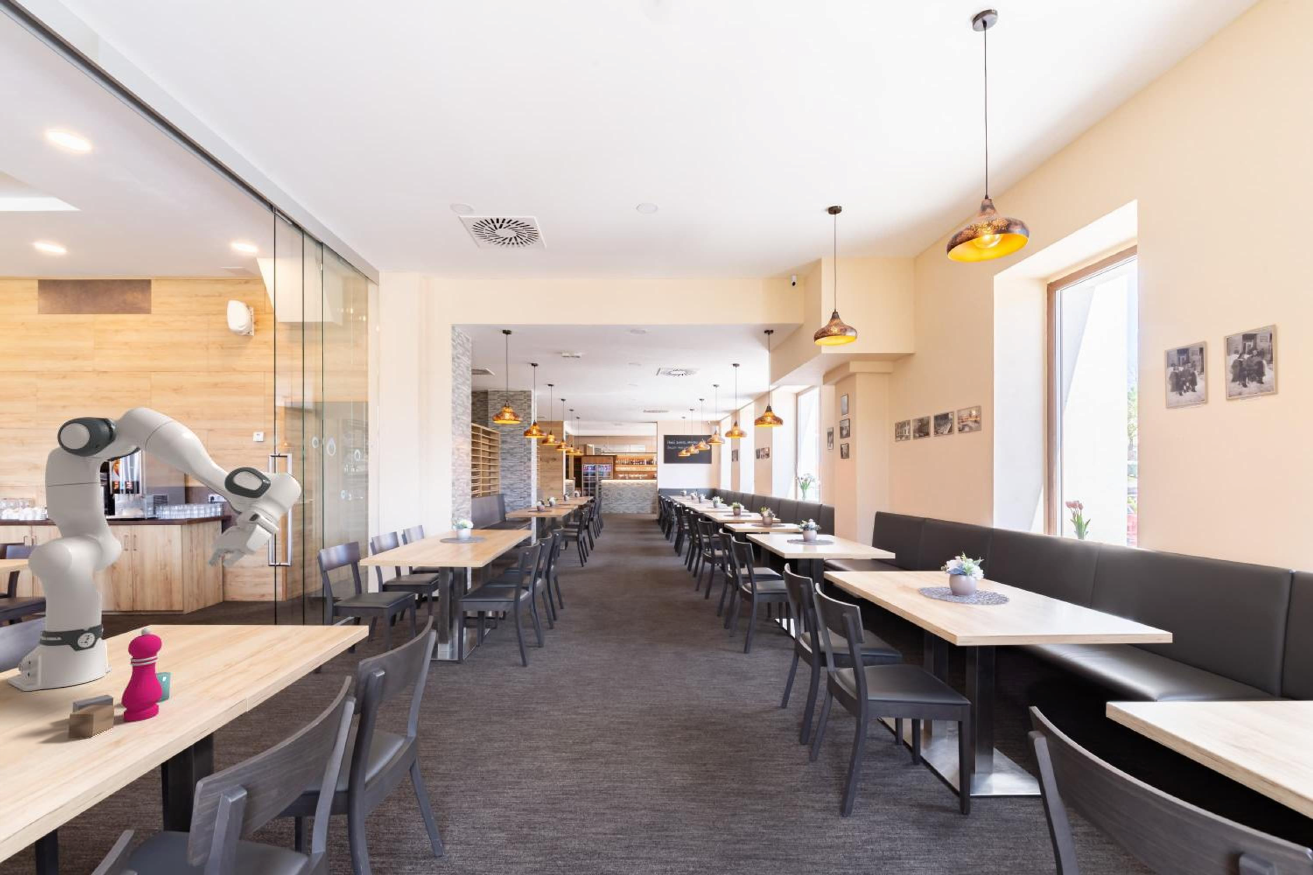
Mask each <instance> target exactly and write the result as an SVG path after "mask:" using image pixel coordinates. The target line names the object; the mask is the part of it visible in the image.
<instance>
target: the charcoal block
mask: <svg viewBox="0 0 1313 875" xmlns="http://www.w3.org/2000/svg"><path fill="white" fill-rule="evenodd" d="M91 705H114V697H113V696H111V695H109V694H103V695H99V696H94V697H90V698H86V699H85V698H84V699H81V700H77V701H73V702H72V712H71V713H74V712H76V711H79V710H81V709H83V708H86V707H88V706H91Z"/></svg>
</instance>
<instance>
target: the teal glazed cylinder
mask: <svg viewBox="0 0 1313 875" xmlns="http://www.w3.org/2000/svg"><path fill="white" fill-rule="evenodd" d="M155 673H156V677H157V679H158V681H159V683H160V685H161V687H162V697H161V699H160V700H159V701H158V702H157V703H156V704H158V703H162V702H165V701H167V700H169V699H170V693H171V692H170V689H171V675H172V674H171V672H169V671H168V672H167V671H163V672H155Z"/></svg>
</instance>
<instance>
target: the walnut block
mask: <svg viewBox="0 0 1313 875" xmlns="http://www.w3.org/2000/svg"><path fill="white" fill-rule="evenodd" d="M114 720H115V704H113V705H91V706H88V707H86V708H83V709H81V710H79V711H76V712H74V713H72V712H71V713H70V714H69V724H68V737H67V738H68V739H81V738H80V737H93V736H95V735H97V734H99V735H101V734H100V733H102V732H104V731H106V732H108V731H110V730H112V729H114ZM111 728H112V729H111ZM109 729H110V730H109ZM107 730H108V731H107ZM104 733H105V732H104ZM102 734H103V733H102ZM97 736H98V735H97ZM78 737H79V738H78ZM95 737H96V736H95ZM93 738H94V737H93Z"/></svg>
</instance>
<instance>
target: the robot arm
mask: <svg viewBox="0 0 1313 875" xmlns="http://www.w3.org/2000/svg"><path fill="white" fill-rule="evenodd" d="M56 435H57V437H56V438H57V443H58V444H59V447H55V448H54V449H52V450H51V451H50V452H49V454H48V456H47V459H46V465H45V474H44V475H45V476H44V485H45V486H44V487H45V488H44V489H45V503H46V504H45V505H46V515H47V516H48V518H49V519H50V520H51V521H53V523H54V524H55V525H56V527H57V529H58V530H59V534H60V536H61V537H56V538H52V539H51V540H49V541H46V542H44V543H42V544H39V545H38V546H36V547H35V548H34V549H33V550H32V551H31V552H30V555H29V557H28V561H27V562H28V563H27V564H28V568H29V570H30V571H31V573H32V574H34V576H36V577H37V578H38V580H39V581H40V584H41V586H42V588H43V592H44V598H45V622H44V630H42V631H41V630H40V633H41V634H39V636H40V638H39V642H38V644H39V645H37V646H36V647H35V648H34V649H33V650H31V652H30V653H28V654H27V655H26V656H24V657H23V658H22V660H21V661H20V662H19V663H18V669H17V670H18V671H19V672H20V674H19V673H18V674H16V675H13V676H11V677H8V678H7V683H8V684H10V685H11V686H14V687H15V688H18V689H19V690H21V691H23V692H31V691H37V690H44V689H57V688H62V687H70V686H75V685H80V684H84V683H88V682H91V681H96V680H98V679H100V678H103V677H104V676H106V675H107V673H109V672H110V671H112V670H113V666H112V665H108V649H107V648H108V647H107V642H106V641H105V640H103V639H102V638H103V632H104V624H103V623H102V614H103V613H102V612H103V611H102V610H103V594H102V593H101V592H100V591H99V590H98V589H97V587H96V584H95V580H94V576H93V575H94V574H93V573H94V572H99V571H102V570H104V569H106V568H108V567H110V566H111V565H114V564H115V563H116V562H118V560H119V559H120V558H121V555H122V552H123V546H122V543H121V541H120V540H119V539H118V538H117V537H116V536H114V534H113V533H112V529H111V528H110V526H109V524H108V521H107V518H106V515H105V513H104V507H103V498H102V496H103V494H102V485H101V484H102V483H101V474H100V473H101V472H100V471H101V467H102V465H103V463H104V462H105V461H107V462H112V463H113V462H115V461H118V460H120V459H124V458H127V457H130V456H133V455H134V454H137V453H138V452H140V451H141V450H142V451H144V452H145V453H147V454H149V456H152V457H154V458H156V459H158V460H160V461H161V462H163V463H165V464H167V465H170V466H172V468H175V469H176V470H179V471H180V472H181V473H184V474H185V475H187V476H190V478H191V477H192V478H193V479H195V480H196V482H197V481H198V482H199V483H200V484H202V485H204V486H206V488H209V490H212V491H213V492H214V493H216V494H217V495H219V496H220V497H222V498H223V499H225V500H226V502H227V503H228V505H229V506H230V508H231V510H232V511H233V512H234V513H236V514H237V515H238V517H237V518H236V519H235V522H236V524H237V525H232V526H230V527H228V528H227V529H225V531H223V533H221V535H219V537H217V539H215V540H214V542H213V543H212V544H211V547H210V548H211V549H212V550H213V553H212V555H211V557H210V559H209V560H208V561H207V562H206V565H207V566H208V567H211V568H212V567H213V568H214V567H216V566H217V565H218V564H219V562H220V560H221V558H222V557H224V556H225V555H230V556H229V557H228V558H226V559H225V561H223V562H222V566H224V567H225V568H232V567H233V566H234V564H235V563H237V562H238V561H240V560H241V559H243V557H244V556H245V555H247V556H251V555H252V556H253V555H254V554H256V553H258V552H259V550H261V549H262V548H263V546H265V544H267V543H268V541H269V540H270V539H271V538H272V536H275V535H276V534H277V533H278V532H279V531H280V528H279V527H277V525H278V524H279V522H280V519H281V518H282V517H283V515H285V514H287V513H288V512H289V511H290V510H291V509H292V508H293V506H294V505H295V503H296V502H297V500H298V499H299V497H300V495H301V494H302V485H301V483H300V481H298V480H297V478H295V477H294V476H293V475H291V474H290V473H288V472H285V471H284V472H276V473H275V472H266V471H262V470H259V469H256V468H254V467H249V466H243V467H239V468H236V469H233V470H232V471H230V472H229V471H228V472H227V471H226V470H225V469H223V468H222V467H220V466H219V465H218V464H217V463H216V462H215V461H214V460H213V459H212V457H211V456H210V455H209V453H208V452H207V450H206V448H205V446H204V444H203V443H202V441H201V440H200V438H199V437H198V436H197V435H196V434H195V433H194V431H192V430H191V429H190V428H188V427H187V426H185V425H184V424H182V423H180V422H179V421H177V420H176V419H174V418H172V417H169V416H168V415H166V414H164V413H161V412H159V411H157V410H155V409H152V408H149V407H144V406H141V407H139V406H138V407H134V408H131V409H130V410H128V411H126V412H125V413H124V414H123V415H122V416H121V417H120V418H119V419H115V418H108V417H96V416H95V417H94V416H84V417H77V418H73V419H70V420H67V421H65V422H64V423H63V424H62V425H61V426H60V427H59V429H58V431H57V434H56Z"/></svg>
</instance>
